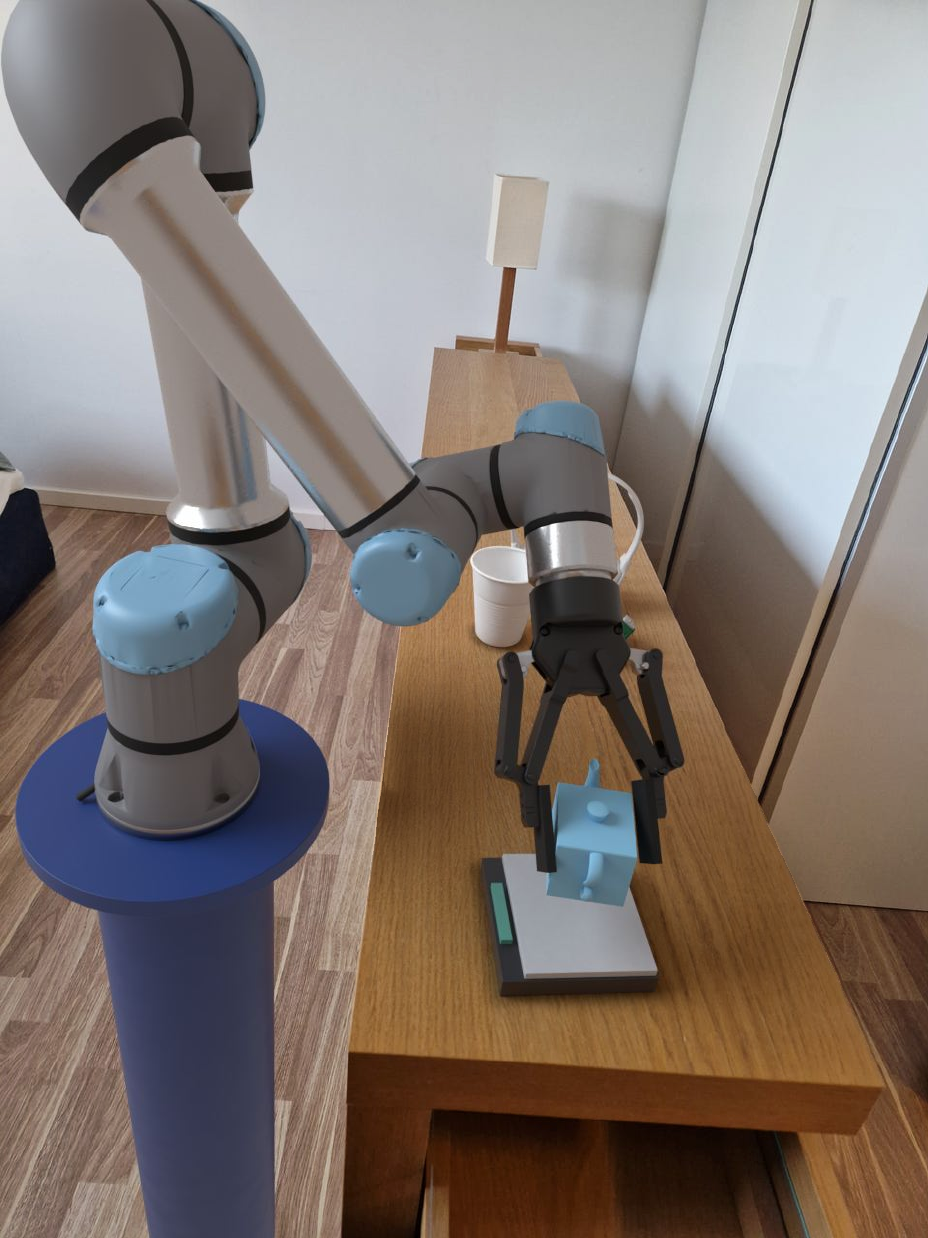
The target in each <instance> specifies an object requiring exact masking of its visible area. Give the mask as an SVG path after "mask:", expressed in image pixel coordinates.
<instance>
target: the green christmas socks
mask: <svg viewBox="0 0 928 1238" xmlns="http://www.w3.org/2000/svg"><path fill="white" fill-rule="evenodd" d="M635 631H636V624H635V622H634V621H633V619H632V618H631V617H630V616H629V615H628V614H626V615H625V616H624V617H623V634H624V637H625V639H626V641H627V640H629V638H630V637H631V635H633V633H635Z"/></svg>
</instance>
